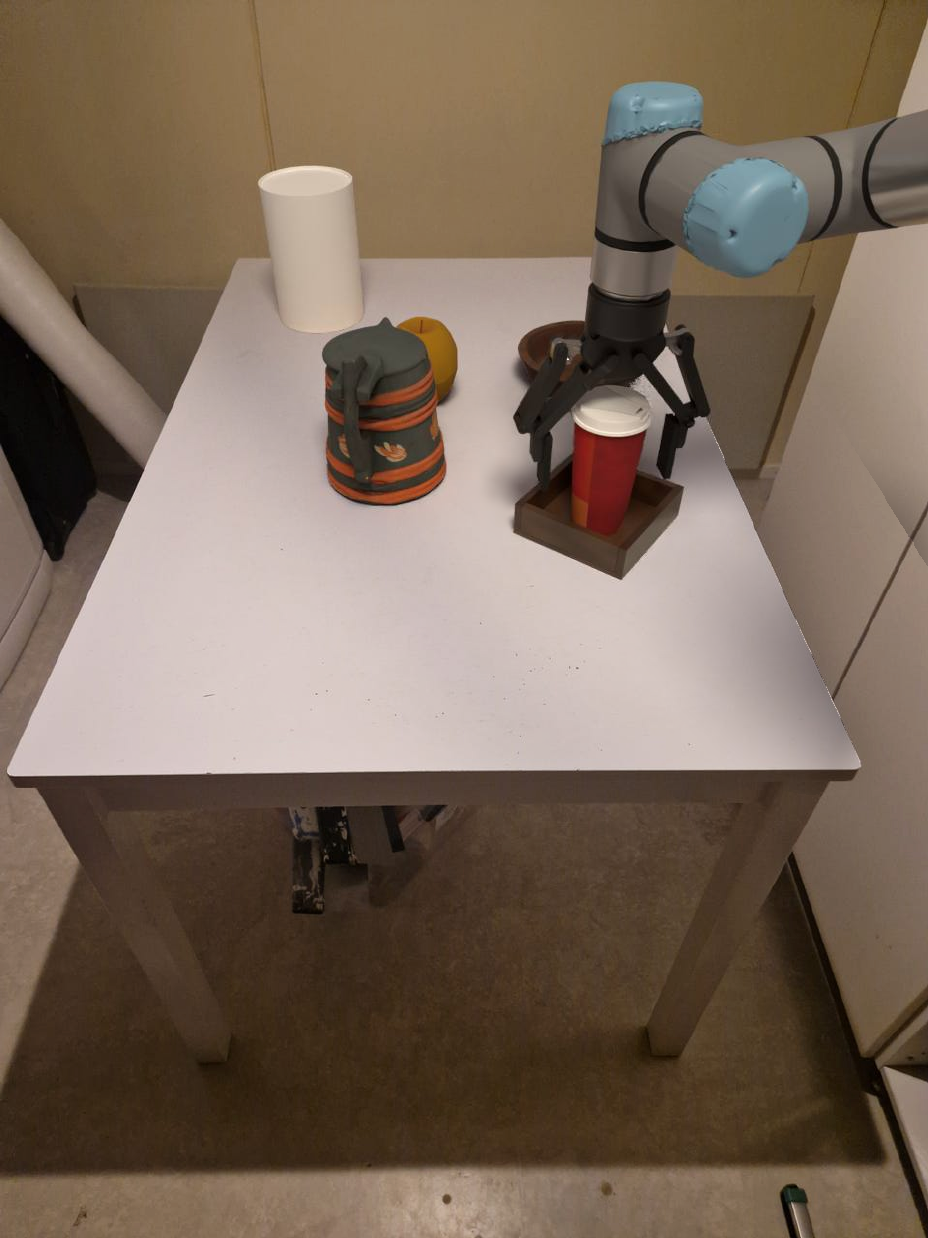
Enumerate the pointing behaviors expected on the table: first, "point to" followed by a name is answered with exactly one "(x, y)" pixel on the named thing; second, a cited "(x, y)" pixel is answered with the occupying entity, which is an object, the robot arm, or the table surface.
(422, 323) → the apple
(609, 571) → the square wooden tray
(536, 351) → the dish
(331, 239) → the canister
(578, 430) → the coffee cup
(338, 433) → the beer stein
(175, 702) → the table surface
